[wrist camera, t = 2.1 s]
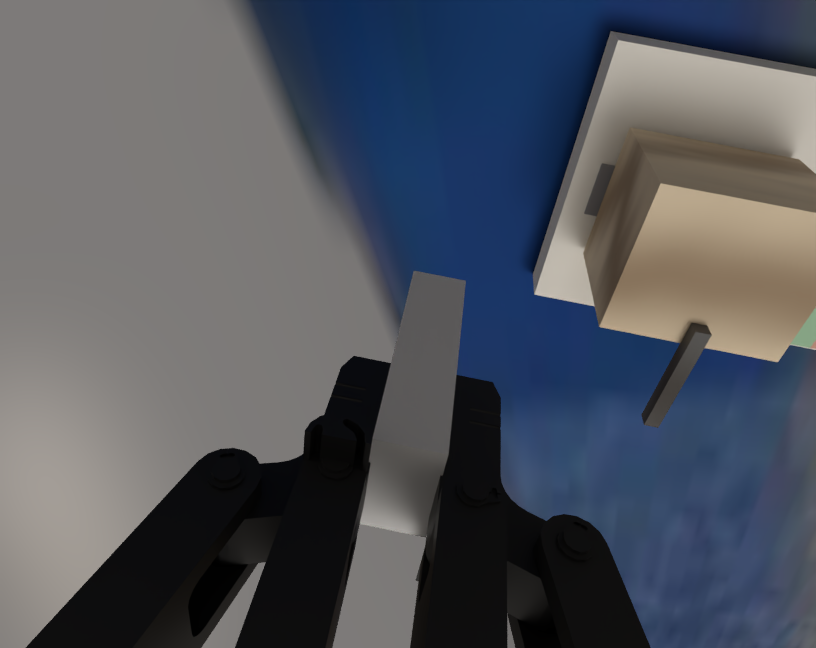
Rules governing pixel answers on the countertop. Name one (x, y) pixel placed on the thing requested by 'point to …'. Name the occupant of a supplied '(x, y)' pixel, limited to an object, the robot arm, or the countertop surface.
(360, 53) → the countertop surface
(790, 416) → the countertop surface
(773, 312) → the gauge carriage
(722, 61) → the bench
